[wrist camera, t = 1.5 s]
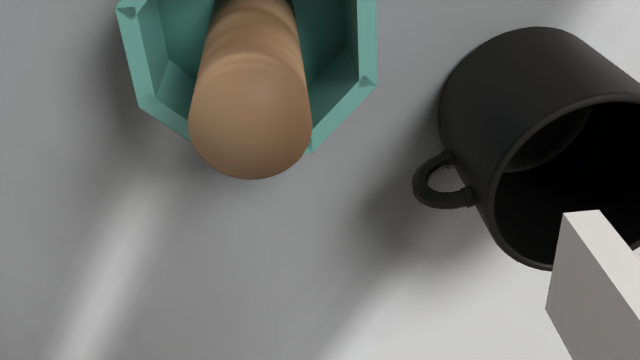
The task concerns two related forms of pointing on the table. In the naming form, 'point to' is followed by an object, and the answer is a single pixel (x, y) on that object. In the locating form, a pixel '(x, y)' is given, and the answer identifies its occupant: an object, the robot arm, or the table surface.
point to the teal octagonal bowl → (188, 43)
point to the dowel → (251, 91)
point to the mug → (539, 141)
